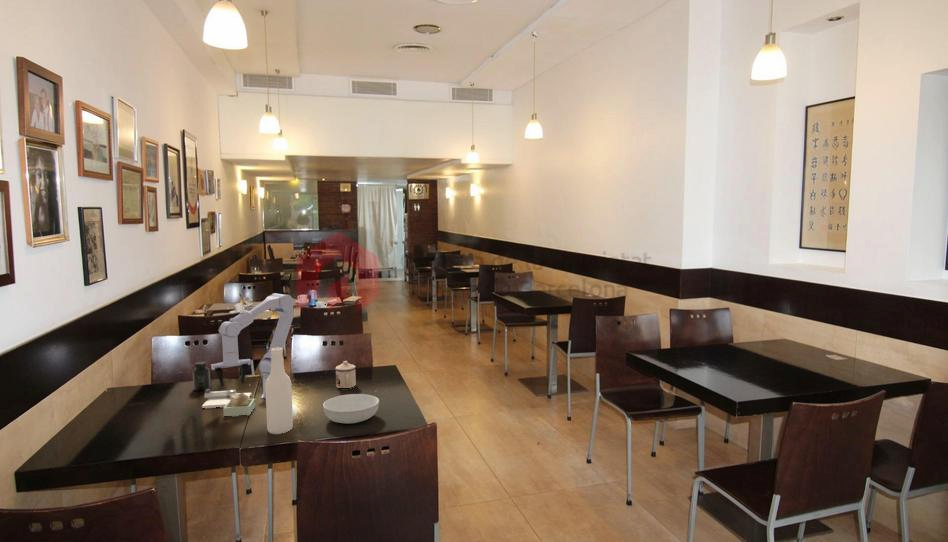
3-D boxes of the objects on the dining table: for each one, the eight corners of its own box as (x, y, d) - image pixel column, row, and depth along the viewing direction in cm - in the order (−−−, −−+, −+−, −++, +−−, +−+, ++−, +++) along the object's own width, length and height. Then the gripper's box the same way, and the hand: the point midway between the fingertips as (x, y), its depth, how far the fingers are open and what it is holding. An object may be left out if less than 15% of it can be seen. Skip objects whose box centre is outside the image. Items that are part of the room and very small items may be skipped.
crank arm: (237, 394, 236) (237, 386, 236) (235, 396, 233) (234, 389, 232) (206, 396, 234) (206, 388, 234) (204, 398, 231) (203, 391, 230)
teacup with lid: (334, 384, 254) (334, 359, 252) (355, 382, 256) (354, 358, 255) (337, 392, 242) (336, 366, 241) (358, 390, 245) (357, 364, 244)
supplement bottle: (213, 386, 252) (212, 361, 251) (204, 391, 245) (203, 365, 244) (199, 386, 253) (197, 360, 252) (190, 391, 246) (188, 364, 245)
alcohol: (287, 423, 206) (283, 344, 203) (297, 430, 199) (293, 348, 196) (263, 429, 200) (259, 348, 197) (273, 436, 193) (269, 352, 191)
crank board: (251, 395, 239) (251, 391, 239) (244, 406, 226) (243, 402, 226) (212, 397, 237) (211, 394, 237) (202, 408, 223) (201, 405, 223)
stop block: (243, 407, 223) (242, 392, 222) (248, 410, 219) (248, 395, 218) (231, 410, 219) (230, 395, 218) (235, 413, 216) (235, 398, 215)
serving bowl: (390, 415, 214) (390, 398, 213) (353, 434, 196) (352, 415, 195) (350, 406, 224) (350, 390, 223) (311, 423, 206) (310, 405, 206)
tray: (255, 406, 224) (254, 398, 224) (250, 415, 215) (249, 406, 215) (230, 408, 223) (229, 400, 222) (223, 417, 213) (223, 408, 213)
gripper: (247, 346, 230) (249, 378, 231) (209, 351, 222) (211, 384, 223) (251, 350, 224) (252, 382, 226) (212, 355, 216) (214, 389, 218)
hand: (232, 384), depth 224 cm, fingers open, 7 cm apart
